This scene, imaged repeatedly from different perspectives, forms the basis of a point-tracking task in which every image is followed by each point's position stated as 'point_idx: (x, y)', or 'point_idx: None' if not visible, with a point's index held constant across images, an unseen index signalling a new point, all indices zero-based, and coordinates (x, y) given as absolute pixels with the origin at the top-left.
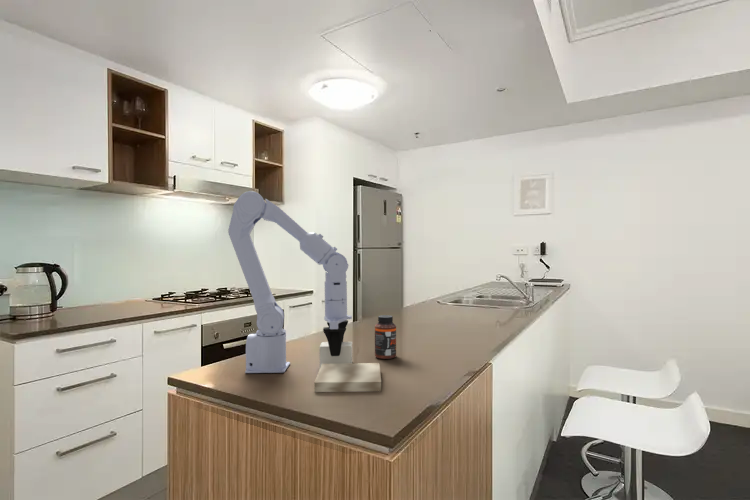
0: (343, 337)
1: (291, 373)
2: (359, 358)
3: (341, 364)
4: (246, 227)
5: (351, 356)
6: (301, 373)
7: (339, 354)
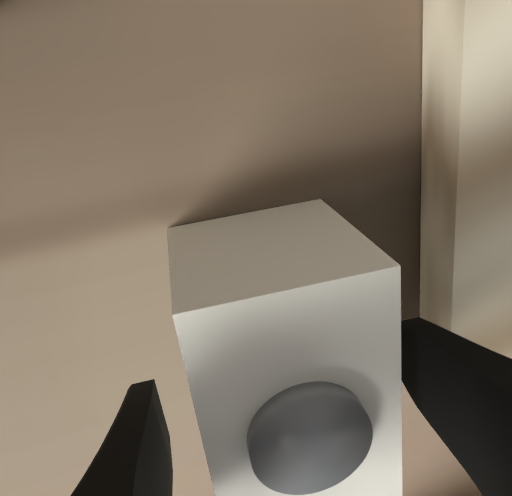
0: (105, 451)
1: (434, 477)
2: (35, 191)
3: (481, 256)
4: None
5: (321, 230)
6: (437, 437)
7: (427, 322)
